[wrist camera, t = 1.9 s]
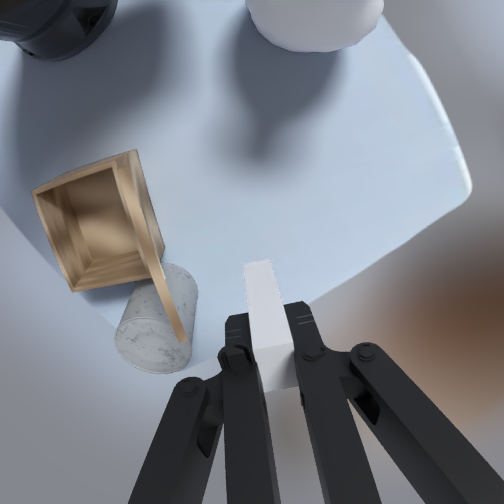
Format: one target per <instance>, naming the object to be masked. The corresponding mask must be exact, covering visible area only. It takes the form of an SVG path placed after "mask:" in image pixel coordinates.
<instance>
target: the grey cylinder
mask: <svg viewBox="0 0 504 504" xmlns="http://www.w3.org/2000/svg"><path fill="white" fill-rule="evenodd" d="M160 264H161V267H162V270H163V272H164V275H165V278H166V279H165V282H166V285H167V287H168V290H169V293H170V295H171V298H172V300H173V303H174V306H175V308H176V311H177V313H178V316H179V318H180V321H181V323H182V326H183V328H184V331H185V333H186V335H187V338H188V340H187V341H184V342H181V343H179V341H178V339H177V337H176V334H175V332H174V330H173V328H172V325H171V323H170V321H169V318H168V316H167V313H166V311H165V309H164V306H163V304H162V301H161V299H160V296H159V294H158V291H157V289H156V286H155V283H154V281H153V278H148V279H142V280H137V283H136V285H135V287H134V290H133V292H132V294H131V297H130V299H129V301H128V304H127V306H126V309H125V311H124V314H123V316H122V319H121V321H120V324H119V326H118V328H117V330H116V332H115V337H114V340H115V346H116V348H117V351H118V352H119V354H120V355H121V356H122V358H123V359H124V360H126V361H127V362H128V363H129V364H131V365H132V366H134V367H135V368H138V369H140V370H142V371H145V372H149V373H155V374H168V373H173V372H176V371H179V370H180V369H182V368H183V367H185V366H186V365H187V363H188V362H189V361H190V358H191V356H192V338H193V329H194V320H195V311H196V303H197V299H198V288H197V284H196V282H195V280H194V279H193V277H192V276H191V275H190V274H189V273H188V272H187V271H186V270H184V269H183V268H181V267H179V266H176V265H173V264H168V263H160Z"/></svg>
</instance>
